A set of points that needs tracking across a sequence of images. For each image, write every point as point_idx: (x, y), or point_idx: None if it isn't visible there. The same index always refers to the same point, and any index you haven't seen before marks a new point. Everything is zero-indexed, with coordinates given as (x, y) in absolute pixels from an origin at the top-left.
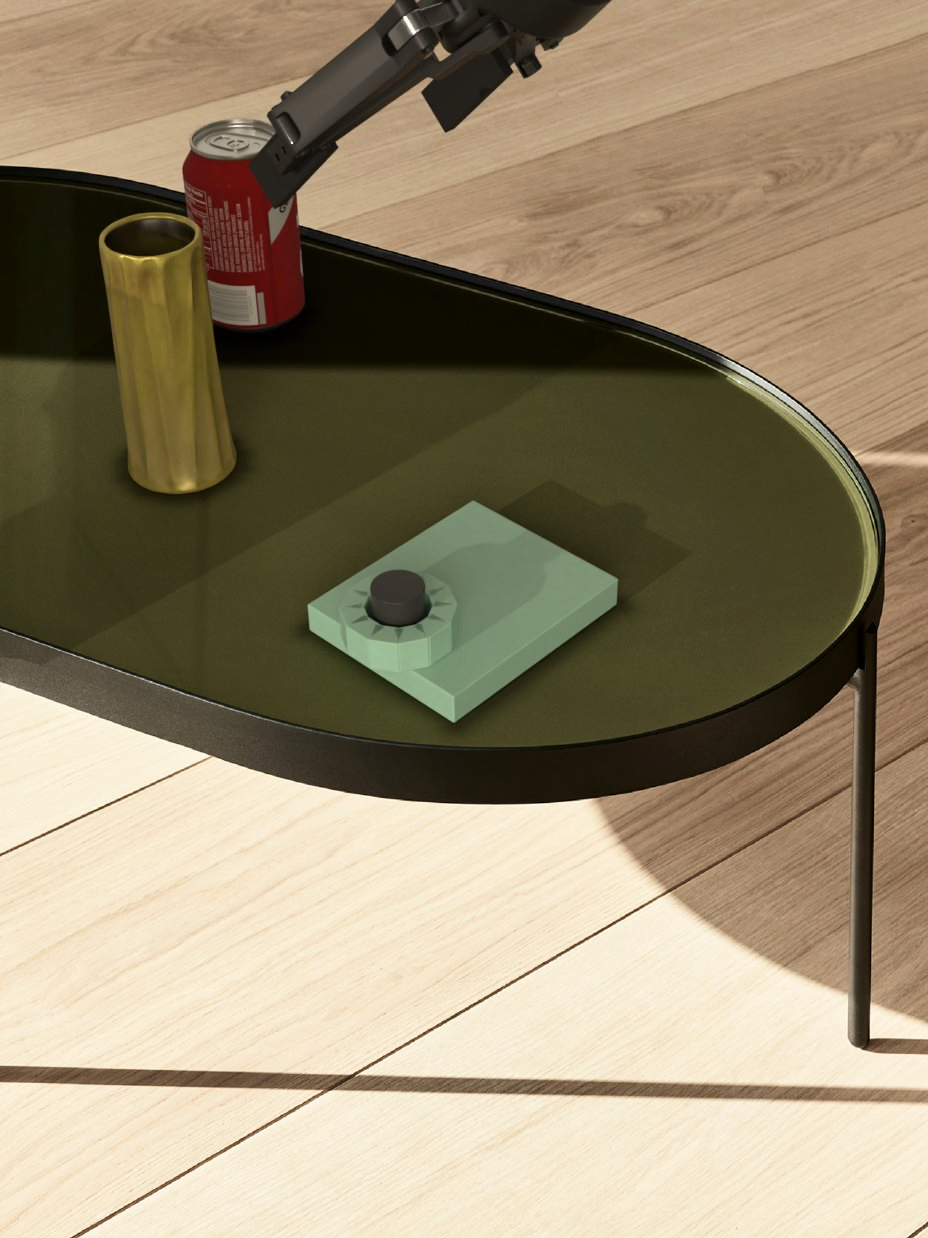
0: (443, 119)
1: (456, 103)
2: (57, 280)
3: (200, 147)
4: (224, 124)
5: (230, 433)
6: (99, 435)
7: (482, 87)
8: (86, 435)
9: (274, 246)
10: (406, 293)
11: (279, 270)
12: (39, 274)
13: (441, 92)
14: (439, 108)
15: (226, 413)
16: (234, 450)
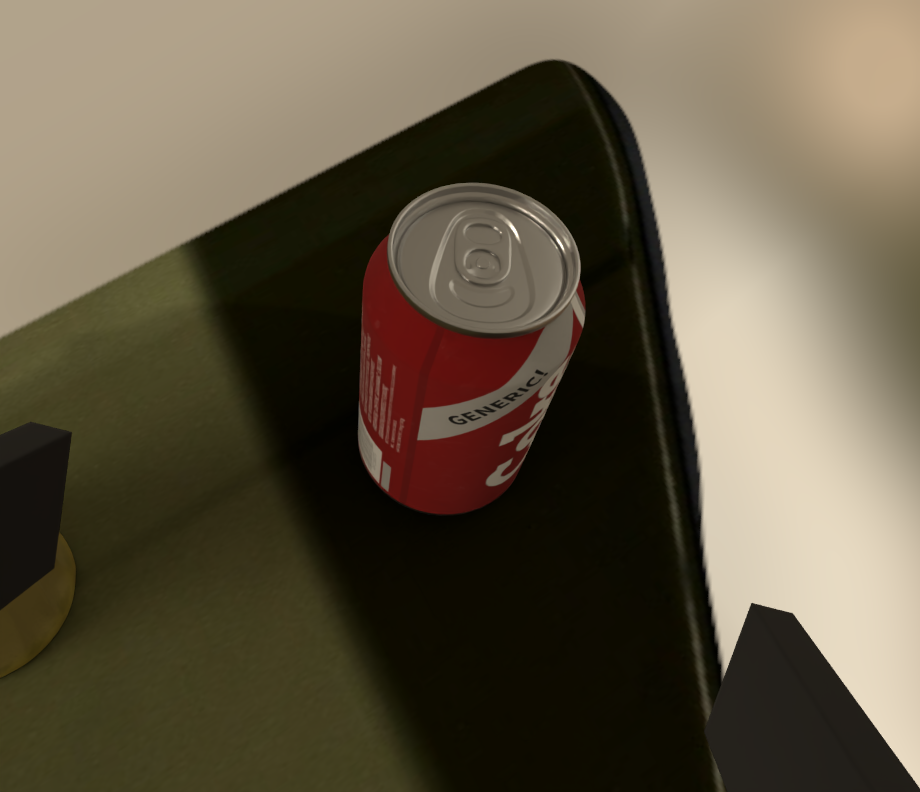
0: (721, 718)
1: (750, 778)
2: (386, 193)
3: (429, 219)
4: (534, 211)
5: (16, 644)
6: None
7: None
8: None
9: (422, 445)
10: (630, 623)
11: (424, 469)
12: (388, 170)
13: (763, 695)
14: (735, 695)
15: (8, 628)
16: (16, 661)
